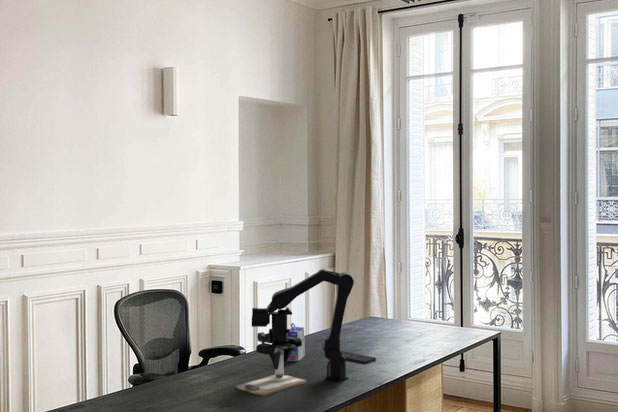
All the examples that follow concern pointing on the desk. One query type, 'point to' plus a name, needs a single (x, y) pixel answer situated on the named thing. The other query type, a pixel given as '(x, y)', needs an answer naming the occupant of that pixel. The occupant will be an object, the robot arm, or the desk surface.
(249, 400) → the desk surface
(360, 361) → the smart home device
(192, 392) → the desk surface
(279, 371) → the marker
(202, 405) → the desk surface
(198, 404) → the desk surface
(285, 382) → the clipboard
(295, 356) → the ink cartridge box
